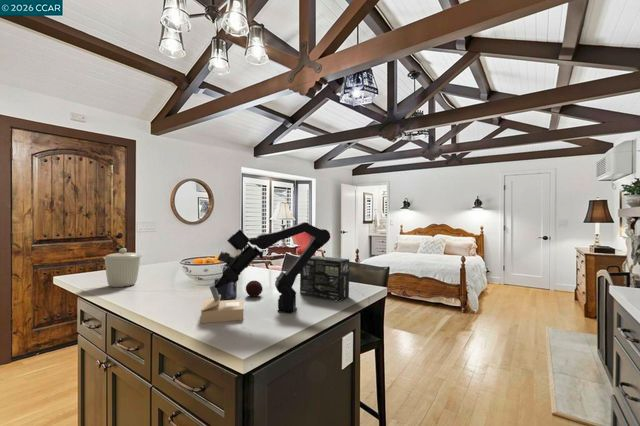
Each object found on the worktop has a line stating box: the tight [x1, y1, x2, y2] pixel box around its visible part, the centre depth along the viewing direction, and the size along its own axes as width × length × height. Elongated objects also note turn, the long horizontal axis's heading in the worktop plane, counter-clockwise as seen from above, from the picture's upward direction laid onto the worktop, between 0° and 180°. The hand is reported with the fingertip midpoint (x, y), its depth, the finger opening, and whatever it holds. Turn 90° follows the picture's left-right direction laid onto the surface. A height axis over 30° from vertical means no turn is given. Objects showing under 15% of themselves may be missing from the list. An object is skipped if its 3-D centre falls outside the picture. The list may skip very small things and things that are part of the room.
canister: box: [102, 247, 142, 288], centre depth 170 cm, size 18×18×21 cm
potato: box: [245, 280, 263, 297], centre depth 148 cm, size 8×9×8 cm
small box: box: [214, 276, 238, 301], centre depth 142 cm, size 11×6×10 cm, turn 168°
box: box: [299, 255, 350, 302], centre depth 149 cm, size 23×10×19 cm, turn 58°
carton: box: [200, 299, 244, 324], centre depth 119 cm, size 15×14×4 cm
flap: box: [200, 282, 221, 313], centre depth 117 cm, size 6×13×6 cm, turn 16°
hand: (215, 287), depth 118 cm, fingers closed, pressing on flap
